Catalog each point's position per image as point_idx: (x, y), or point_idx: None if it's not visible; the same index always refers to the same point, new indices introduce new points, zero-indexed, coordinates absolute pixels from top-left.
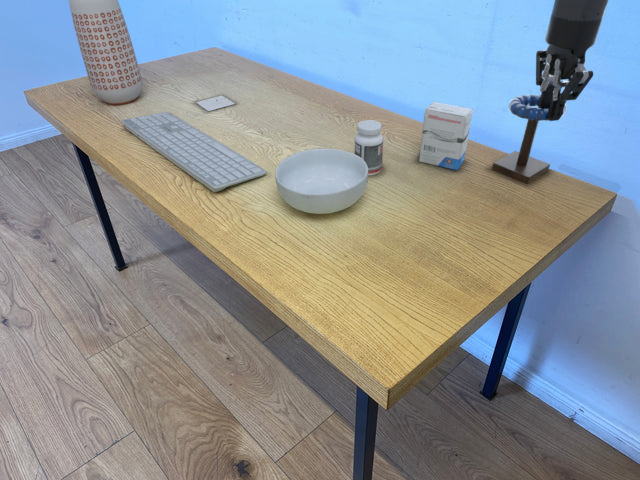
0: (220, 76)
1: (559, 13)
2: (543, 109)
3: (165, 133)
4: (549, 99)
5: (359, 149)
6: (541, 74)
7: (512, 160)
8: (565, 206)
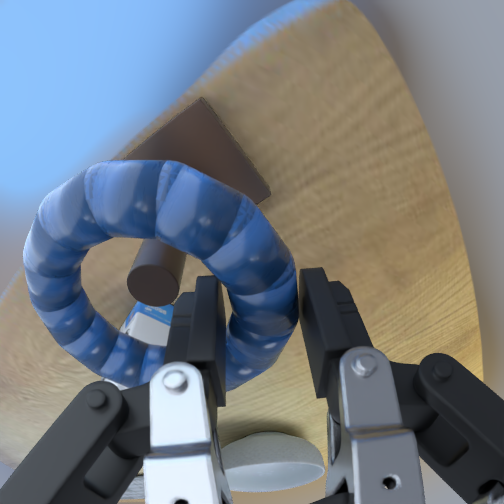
0: None
1: None
2: (269, 351)
3: (135, 492)
4: (220, 348)
5: None
6: (124, 484)
7: None
8: (382, 146)
